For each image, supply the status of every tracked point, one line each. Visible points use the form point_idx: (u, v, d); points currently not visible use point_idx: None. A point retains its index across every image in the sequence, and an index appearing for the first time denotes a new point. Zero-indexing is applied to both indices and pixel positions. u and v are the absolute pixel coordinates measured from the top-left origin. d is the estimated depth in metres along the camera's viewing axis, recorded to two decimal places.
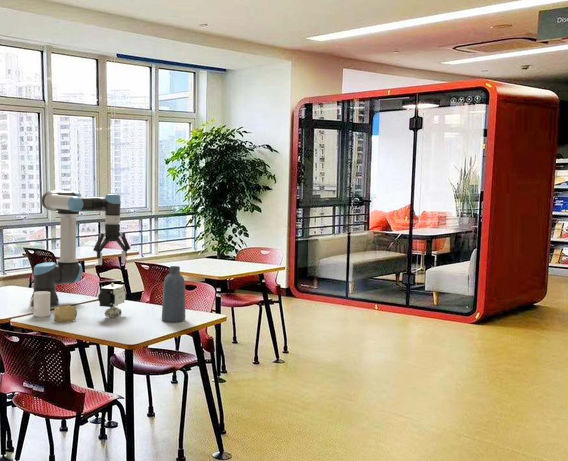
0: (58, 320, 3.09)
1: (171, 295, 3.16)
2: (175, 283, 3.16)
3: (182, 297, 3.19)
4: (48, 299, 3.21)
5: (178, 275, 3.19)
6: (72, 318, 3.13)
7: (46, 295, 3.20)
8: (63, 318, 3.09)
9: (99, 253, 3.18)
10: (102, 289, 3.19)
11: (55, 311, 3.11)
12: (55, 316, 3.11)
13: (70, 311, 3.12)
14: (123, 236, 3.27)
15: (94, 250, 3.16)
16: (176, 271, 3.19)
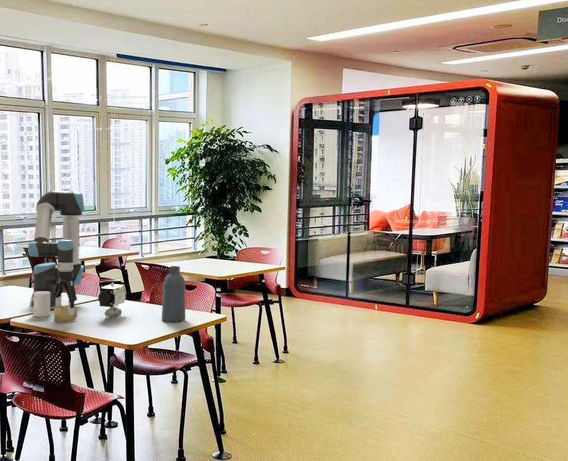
0: (58, 320, 3.09)
1: (171, 295, 3.16)
2: (175, 283, 3.16)
3: (182, 297, 3.19)
4: (48, 299, 3.21)
5: (178, 275, 3.19)
6: (72, 318, 3.13)
7: (46, 295, 3.20)
8: (63, 318, 3.09)
9: (56, 298, 3.17)
10: (102, 289, 3.19)
11: (55, 311, 3.11)
12: (55, 316, 3.11)
13: None
14: (68, 285, 3.07)
15: None
16: (176, 271, 3.19)
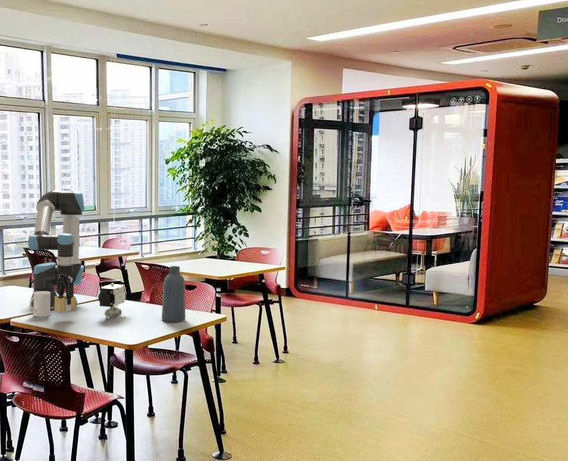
0: (58, 310, 3.09)
1: (171, 295, 3.16)
2: (175, 283, 3.16)
3: (182, 297, 3.19)
4: (48, 299, 3.21)
5: (178, 275, 3.19)
6: (72, 307, 3.13)
7: (46, 295, 3.20)
8: (64, 307, 3.10)
9: None
10: (102, 289, 3.19)
11: (55, 301, 3.11)
12: (55, 305, 3.11)
13: None
14: (67, 281, 3.07)
15: None
16: (176, 271, 3.19)
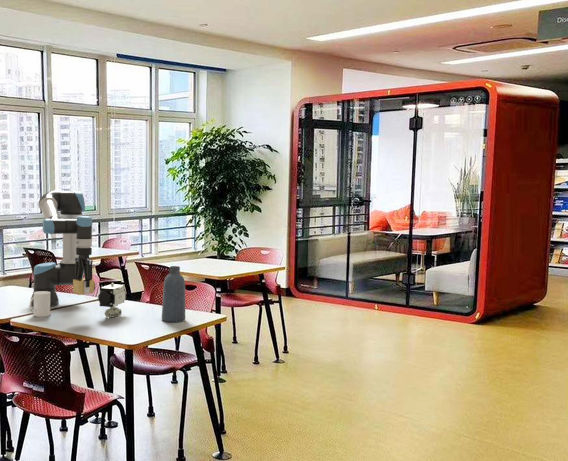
0: (77, 292, 3.09)
1: (171, 295, 3.16)
2: (175, 283, 3.16)
3: (182, 297, 3.19)
4: (48, 299, 3.21)
5: (178, 275, 3.19)
6: (90, 290, 3.12)
7: (46, 295, 3.20)
8: (82, 290, 3.09)
9: None
10: (102, 289, 3.19)
11: (74, 283, 3.11)
12: (74, 288, 3.11)
13: None
14: (86, 263, 3.07)
15: None
16: (176, 271, 3.19)
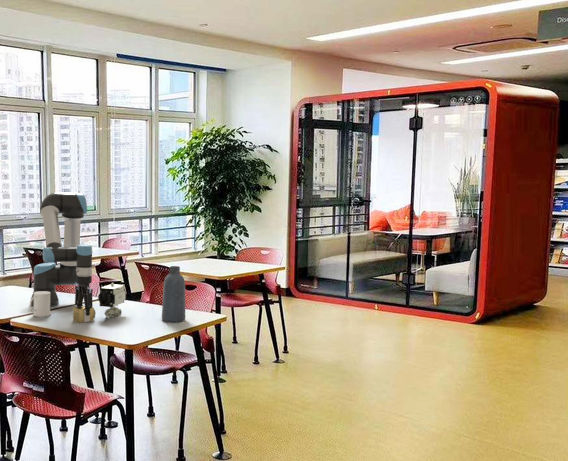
0: (77, 320, 3.10)
1: (171, 295, 3.16)
2: (175, 283, 3.16)
3: (182, 297, 3.19)
4: (48, 299, 3.21)
5: (178, 275, 3.19)
6: (90, 318, 3.13)
7: (46, 295, 3.20)
8: (82, 318, 3.10)
9: None
10: (102, 289, 3.19)
11: (74, 311, 3.12)
12: (74, 316, 3.12)
13: None
14: (86, 292, 3.08)
15: None
16: (176, 271, 3.19)
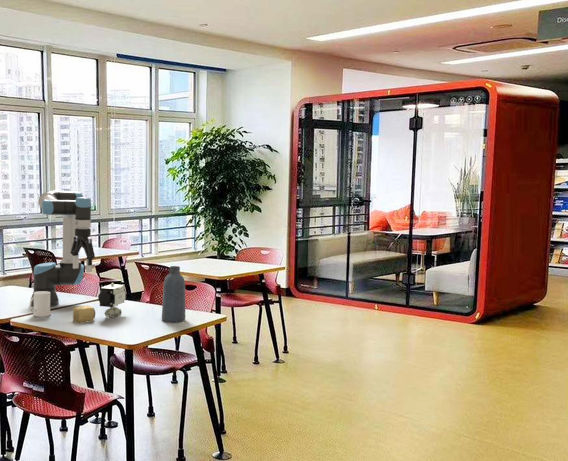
0: (77, 320, 3.10)
1: (171, 295, 3.16)
2: (175, 283, 3.16)
3: (182, 297, 3.19)
4: (48, 299, 3.21)
5: (178, 275, 3.19)
6: (90, 318, 3.13)
7: (46, 295, 3.20)
8: (82, 318, 3.10)
9: None
10: (102, 289, 3.19)
11: (74, 311, 3.12)
12: (74, 316, 3.12)
13: (89, 311, 3.12)
14: (86, 242, 3.05)
15: None
16: (176, 271, 3.19)
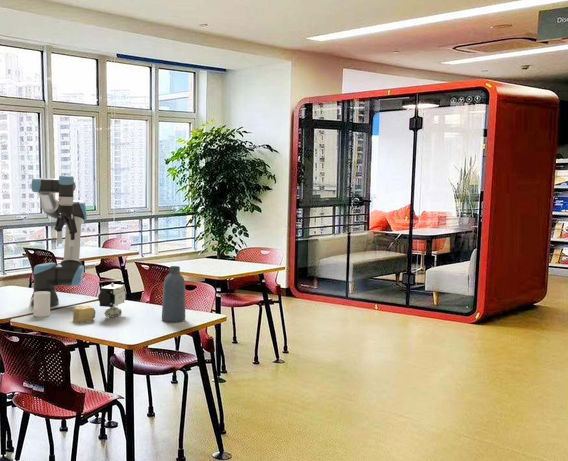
0: (77, 320, 3.10)
1: (171, 295, 3.16)
2: (175, 283, 3.16)
3: (182, 297, 3.19)
4: (48, 299, 3.21)
5: (178, 275, 3.19)
6: (90, 318, 3.13)
7: (46, 295, 3.20)
8: (82, 318, 3.10)
9: (57, 232, 3.31)
10: (102, 289, 3.19)
11: (74, 311, 3.12)
12: (74, 316, 3.12)
13: (89, 311, 3.12)
14: (69, 218, 3.21)
15: None
16: (176, 271, 3.19)
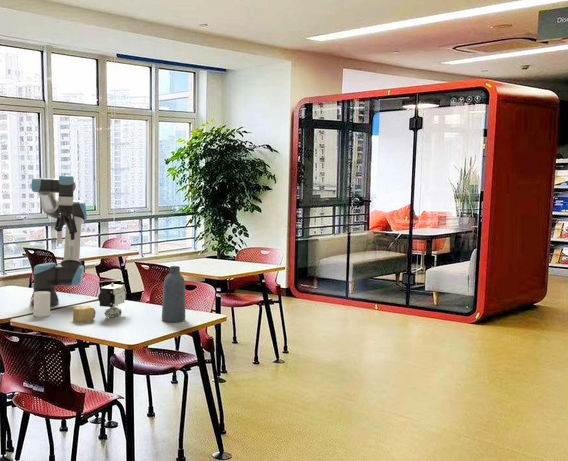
0: (77, 320, 3.10)
1: (171, 295, 3.16)
2: (175, 283, 3.16)
3: (182, 297, 3.19)
4: (48, 299, 3.21)
5: (178, 275, 3.19)
6: (90, 318, 3.13)
7: (46, 295, 3.20)
8: (82, 318, 3.10)
9: (57, 232, 3.31)
10: (102, 289, 3.19)
11: (74, 311, 3.12)
12: (74, 316, 3.12)
13: (89, 311, 3.12)
14: (69, 218, 3.21)
15: None
16: (176, 271, 3.19)
